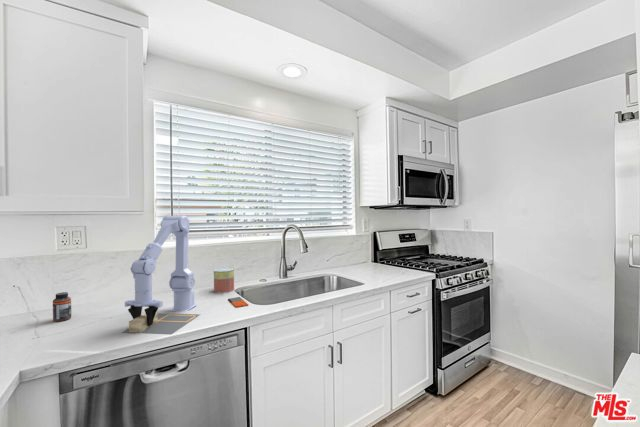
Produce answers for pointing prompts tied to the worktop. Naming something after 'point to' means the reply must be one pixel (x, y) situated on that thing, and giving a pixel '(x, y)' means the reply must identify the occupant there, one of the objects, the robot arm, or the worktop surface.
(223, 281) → the canned food
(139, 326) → the cream block
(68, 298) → the supplement bottle
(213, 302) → the worktop surface
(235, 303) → the phone
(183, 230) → the robot arm
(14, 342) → the worktop surface
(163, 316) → the rubber mat
